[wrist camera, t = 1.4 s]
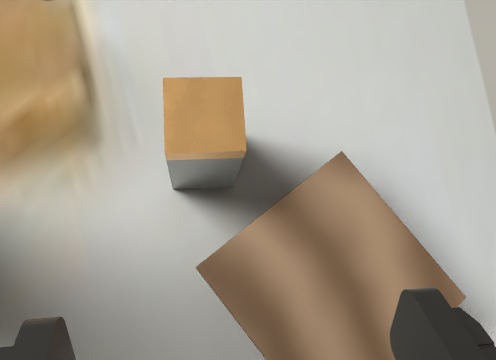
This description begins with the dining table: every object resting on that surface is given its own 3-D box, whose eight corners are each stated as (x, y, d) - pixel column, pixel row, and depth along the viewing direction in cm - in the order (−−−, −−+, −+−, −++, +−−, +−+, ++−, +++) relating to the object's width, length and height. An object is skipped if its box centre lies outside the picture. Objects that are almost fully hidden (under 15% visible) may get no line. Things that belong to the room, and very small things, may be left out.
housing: (232, 186, 37) (246, 150, 27) (172, 189, 36) (165, 153, 26) (229, 130, 38) (241, 77, 28) (171, 132, 37) (162, 77, 27)
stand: (308, 416, 33) (326, 437, 28) (195, 269, 34) (195, 267, 30) (431, 296, 36) (466, 297, 32) (323, 167, 38) (341, 151, 33)
